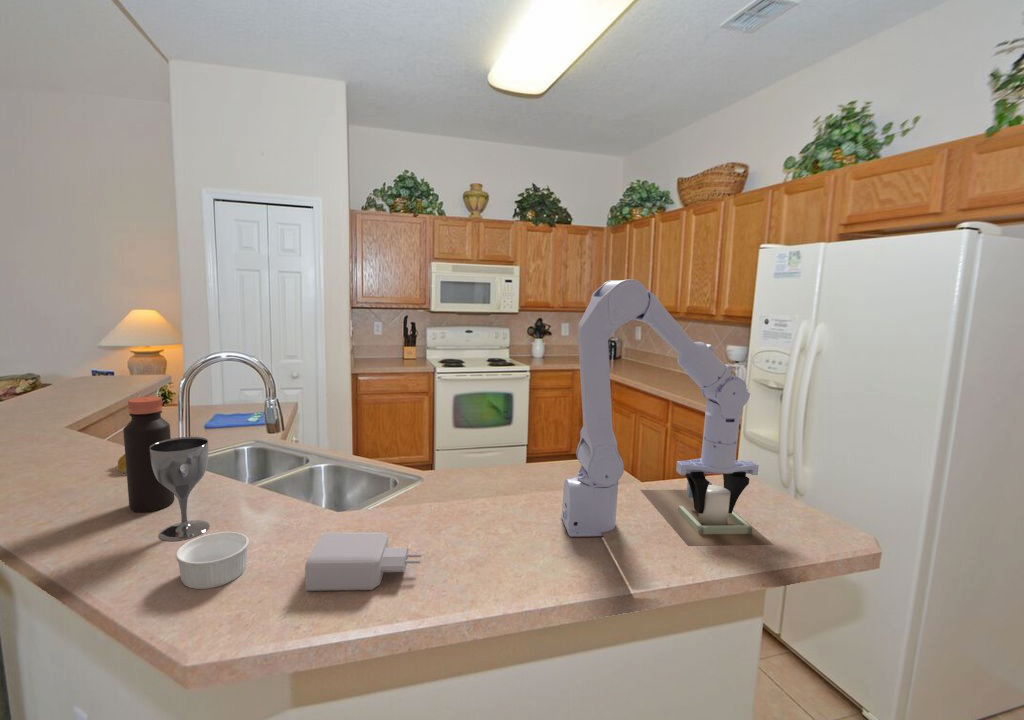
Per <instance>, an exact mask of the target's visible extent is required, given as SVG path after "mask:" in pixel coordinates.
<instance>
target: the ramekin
mask: <svg viewBox="0 0 1024 720" xmlns="http://www.w3.org/2000/svg"><path fill="white" fill-rule="evenodd" d="M249 544H250V540H249V538H248V536H247V535H246V534H243V533H242V532H241V533H240V532H237V531H236V532H235V531H218V532H214V533H213V532H212V533H209V534H205V535H199V536H196V537H194V538H192V539H190V540H189V541H186V543H184V544H183V545H181V546H180V547H179V548H178V549H177V550H176V552H175V558H176V561H177V563H178V569H179V574H180V580H181V582H182V583H183V585H184V586H186V587H188V588H190V589H194V590H208V589H213V588H218V587H221V586H224V585H227V584H229V583H231V582H232V581H235V580H236V579H237V578H239V577H240V576H241V575H242V574H243V573H244V571H245V570H246V568H247V554H248V548H249Z"/></svg>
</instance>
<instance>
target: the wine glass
mask: <svg viewBox="0 0 1024 720" xmlns="http://www.w3.org/2000/svg"><path fill="white" fill-rule="evenodd" d="M150 460H151V465H152V469H153V472H154V475H155V477H156V479H157V481H158V482H159V483H160V484H161V485H162V486H164V487H165V488H167V489H168V490H170V491H171V492H172V493H173V494H174V497H176V499H177V502H178V504H179V509H180V518H181V522H178V523H175V524H174V523H173V524H172V525H169V526H166V527H165V528H164V529H163V530H161V531H160V532H159V534H158V537H159V539H160V540H162V541H165V542H180V541H186V540H191V539H194V538H197V537H200V536H202V535H203V534H204V533H205V532H207V531H208V530H209V529H210V527H211V525H210V523H209V522H208V521H206V520H199V519H198V520H197V519H193V520H188V515H187V514H188V512H187V511H188V510H187V509H188V507H187V506H188V501H189V496H190V494H191V492H192V491H193V489H194V488H195V487H196V486H197V484H198V483H199V482H201V480H202V479H203V477H204V476H205V474H206V471H207V467H208V465H209V464H208V462H209V440H208V438H206V437H201V436H181V437H174V438H171V439H167V440H163V441H160V442H157V443H154V444H153V445H151V446H150Z"/></svg>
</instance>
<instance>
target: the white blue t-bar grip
mask: <svg viewBox="0 0 1024 720" xmlns="http://www.w3.org/2000/svg"><path fill="white" fill-rule="evenodd" d="M708 481H709V482H710V483H709V485H708V488H707V491H706V495H705V503H704V511H703V513H702V514H700V513H699V515H698V520H699V521H700V522H701V523H702V524H704V525H706V526H716V525H727V523H728V513H729V503H730V491H729V490H728V489H726V488H724V486H720V485H716V484H715V485H714V484H713V483H712V481H710V480H708ZM686 485H687V487H686V490H687V495H686V496H687V497H688V498H693V496H692V492H691V488H690V485H689V482H688V481H687V484H686Z"/></svg>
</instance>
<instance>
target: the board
mask: <svg viewBox="0 0 1024 720" xmlns="http://www.w3.org/2000/svg"><path fill="white" fill-rule="evenodd" d="M640 491H641V493H642V494H643V495H644V496H645V498H646V499H647V500H648V501H649V503H651V505H652V506H653V507H654V508H655V509H656V511H657V512H659V514H660V515H661V516H662V517H663V519H664V520H665V521H666V522H667V523H668V524H669V526H670V527H671V528H672V529H673V530H674V531H675V533H676V534H677V535H678V536H679V537H680V538H681V539H682V541H683V542H684V543H685V544H686V546H688V547H689V546H690V547H694V546H695V547H696V546H697V547H698V546H701V547H702V546H705V547H707V546H765V545H766V546H770V545H771V546H774V543H773V542H772V541H770V540H769V539H768V538H766V537H765V535H763V534H762V533H761V532H759V531H758V530H757V529H755V527H754V526H752V525H751V524H750V523H749V522H747V521H746V520H745V519H744V518H743V517H741V516H740V515H739V514H738V513H737V512H735V511H734V510H733V512H735V513H736V514H737V515H738V516H739V517H741V518H742V519H743V520H744V521H745V522H747V523H748V524H749V525H750V526H751V527H752V534H698V533H697V532H696V531H695V529H694V528H693V527H692V526H691V525H690V524H689V523H688V522H687V521H686V520H685V519H684V518H683V517H682V516H681V515H680V514H679V512H678V506H683V507H684V508H685V509H686V510H687V511H688V512H689V513H690V514H691V515H692V516H693V517H694V518H695V519H696V520H697V521H698V522H699V523H700V524H701V525H702V526H706V525H704V524H702V523H701V522H700V521H699V520H698V515H699V513H698V512H697V511H696V510H695V509H694V501H693V498H688V497H687V496H686V495H687V489H640ZM727 525H737V524H735V523H734V522H733V521H732V520H731V519H730V518H729V517H728V523H727Z"/></svg>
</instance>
